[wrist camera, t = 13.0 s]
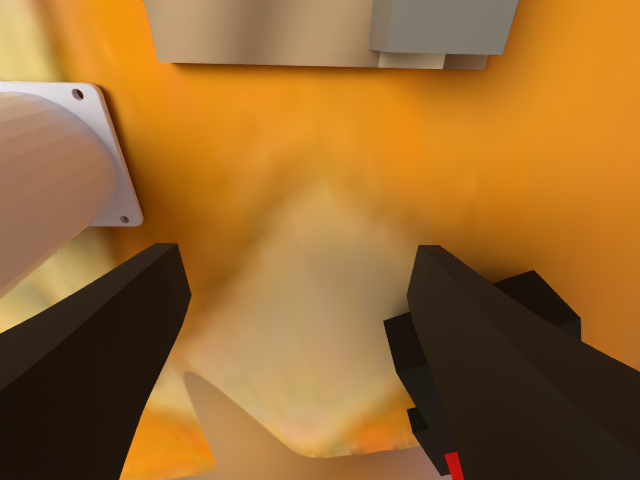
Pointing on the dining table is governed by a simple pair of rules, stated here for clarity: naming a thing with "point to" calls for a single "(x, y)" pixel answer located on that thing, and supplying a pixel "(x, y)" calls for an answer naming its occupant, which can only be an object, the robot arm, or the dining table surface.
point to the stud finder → (441, 26)
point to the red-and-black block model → (420, 382)
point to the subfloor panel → (281, 35)
